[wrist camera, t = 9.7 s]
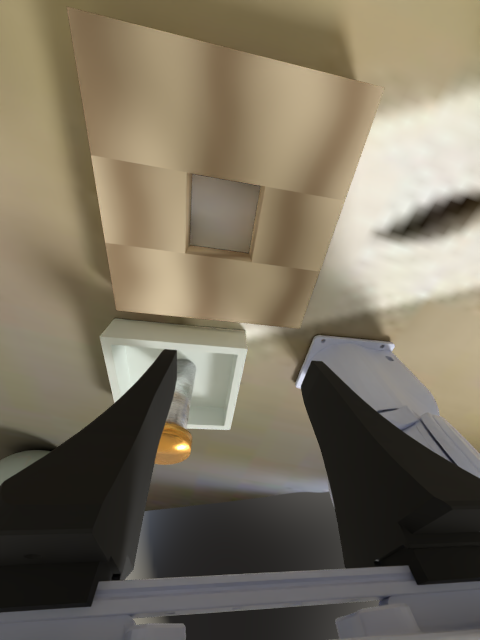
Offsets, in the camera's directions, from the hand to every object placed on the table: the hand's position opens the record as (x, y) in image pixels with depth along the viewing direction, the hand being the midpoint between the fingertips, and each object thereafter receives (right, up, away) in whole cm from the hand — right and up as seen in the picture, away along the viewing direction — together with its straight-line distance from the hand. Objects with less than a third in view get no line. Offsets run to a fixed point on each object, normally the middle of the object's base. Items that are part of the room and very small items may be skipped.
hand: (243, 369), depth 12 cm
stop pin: (-7, -3, +13) cm, 15 cm away
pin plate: (-2, +11, +5) cm, 12 cm away
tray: (-7, -3, +14) cm, 16 cm away
